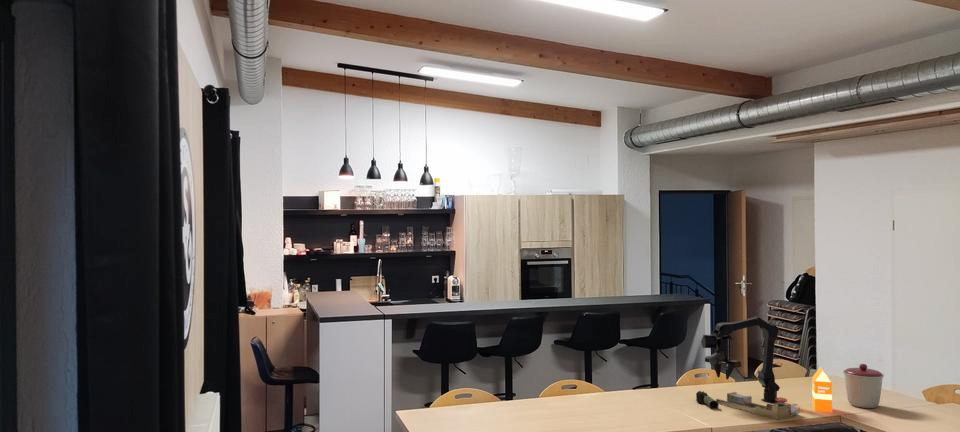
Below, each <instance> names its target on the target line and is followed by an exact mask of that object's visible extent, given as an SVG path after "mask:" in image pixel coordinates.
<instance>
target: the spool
mask: <svg viewBox="0 0 960 432" xmlns="http://www.w3.org/2000/svg"><path fill="white" fill-rule="evenodd" d="M726 394H727V395H726V401H729V402H732V403H736V404H740V405H743V406H747V407H752V403H753V402H752V400H753V398H752V397H753V396H752V395H745V394H744V395H743V394H740V393H737V391H732V392H728V393H726Z"/></svg>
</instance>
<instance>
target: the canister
mask: <svg viewBox="0 0 960 432" xmlns="http://www.w3.org/2000/svg"><path fill="white" fill-rule="evenodd" d="M842 373H843V374H844V380H845V381H844V383H845V389H846V395H847V400H848V403H849V404H850V405H852V406H853V407H856V408H863V409H876V408H877V407H878V406H879V405H880V402H881V394H882V387H883V385H882V384H883V378H884V377H885V374H884V373H882V372H880V371H879V370H876V369H873V368H868V365H867V364H866V363H860V364H859V365H858V367H849V368H846V369H844V370H842Z"/></svg>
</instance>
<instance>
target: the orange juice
mask: <svg viewBox="0 0 960 432" xmlns="http://www.w3.org/2000/svg"><path fill="white" fill-rule="evenodd" d="M811 380H812V384H811V385H812V386H811V387H812V390H811V391H812V396H811V397H812V399H811V400H812V408H813V410H814V411H815V412H822V413H833V382H832V381H831V379H830V378H829V377H828V376H827V374H826V373H825V372H824V369H822V367H821V366H820V367H819V368H818V370H817V371H816V372H815V374H814V375H813V376H812V377H811Z"/></svg>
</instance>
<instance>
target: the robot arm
mask: <svg viewBox="0 0 960 432" xmlns="http://www.w3.org/2000/svg"><path fill="white" fill-rule="evenodd" d="M755 326H756V327H758V328H759V329H761V330H762V331H761V332H762V337H763V339H764V344H763V346H764V348H763V359H762V368H761V370H758V371H757V378H756V379H758V382H759V384H761V387H762V388H763V398H761V399H760V400H761V401H762V400H763V402H766V401H767V403H770V402H771V403H770V404H774V403H778V401H776V398H778V392H779V390H780V388H781V387H780V386H779V385H778V383H776V376H775V374H774V370H773V369H774V355H775V354H774V353H775V342H776V341H777V339H778V336H779V332H780V329H779V327H778V326H777V325H775V324H772V323H769V322H767V321H765V320H764V319H762V318H761V317H759V316H753V317H749V318H745V319H741V320H737V321H732V322H718V323H716V325H715V327H714V329H713V331H712V332H711V334H702V338H701V341H700V343H701V347H702V348H703V349H714V353H713V354H710V355H706V356H705V357H704V362H706V363H709V365H710V366H712V367H713V368H714V371H715V374H716V376H717V378H720V377H721V371H722V364H723V365H725V366H724V370H725V378H726V380H729V378H730V377H731V374H732V373H733V371H734V370H735V368H742V362H741V360H740V361H739V360H736V359H733V360H732V359H731V357H729V353H731V350H730V349H729V340H734V338H733V337H732V336H731V335H730V334H733V333H734V332H736V331H738V330H743V329H747V328H751V327H755ZM715 348H716V349H715Z"/></svg>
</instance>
